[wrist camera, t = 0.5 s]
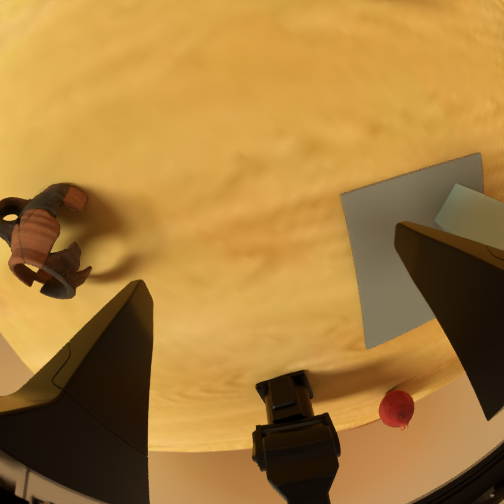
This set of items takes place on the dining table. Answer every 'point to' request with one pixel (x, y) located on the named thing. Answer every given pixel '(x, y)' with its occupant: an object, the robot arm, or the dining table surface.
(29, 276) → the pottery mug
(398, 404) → the pomegranate
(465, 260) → the robot arm
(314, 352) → the dining table surface
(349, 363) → the dining table surface
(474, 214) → the block
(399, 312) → the mat
